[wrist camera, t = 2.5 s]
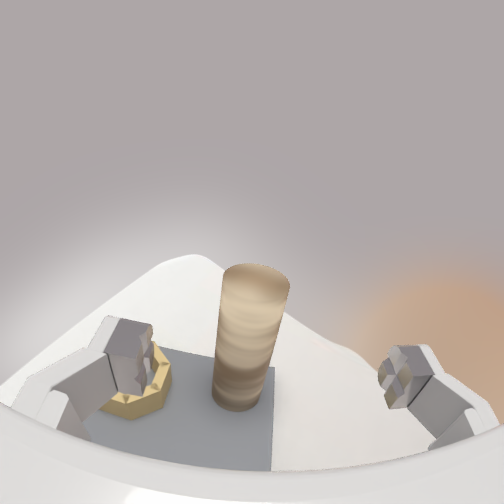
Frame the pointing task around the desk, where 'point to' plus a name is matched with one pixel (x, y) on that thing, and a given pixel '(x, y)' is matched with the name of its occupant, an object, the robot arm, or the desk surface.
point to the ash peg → (246, 333)
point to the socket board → (186, 418)
